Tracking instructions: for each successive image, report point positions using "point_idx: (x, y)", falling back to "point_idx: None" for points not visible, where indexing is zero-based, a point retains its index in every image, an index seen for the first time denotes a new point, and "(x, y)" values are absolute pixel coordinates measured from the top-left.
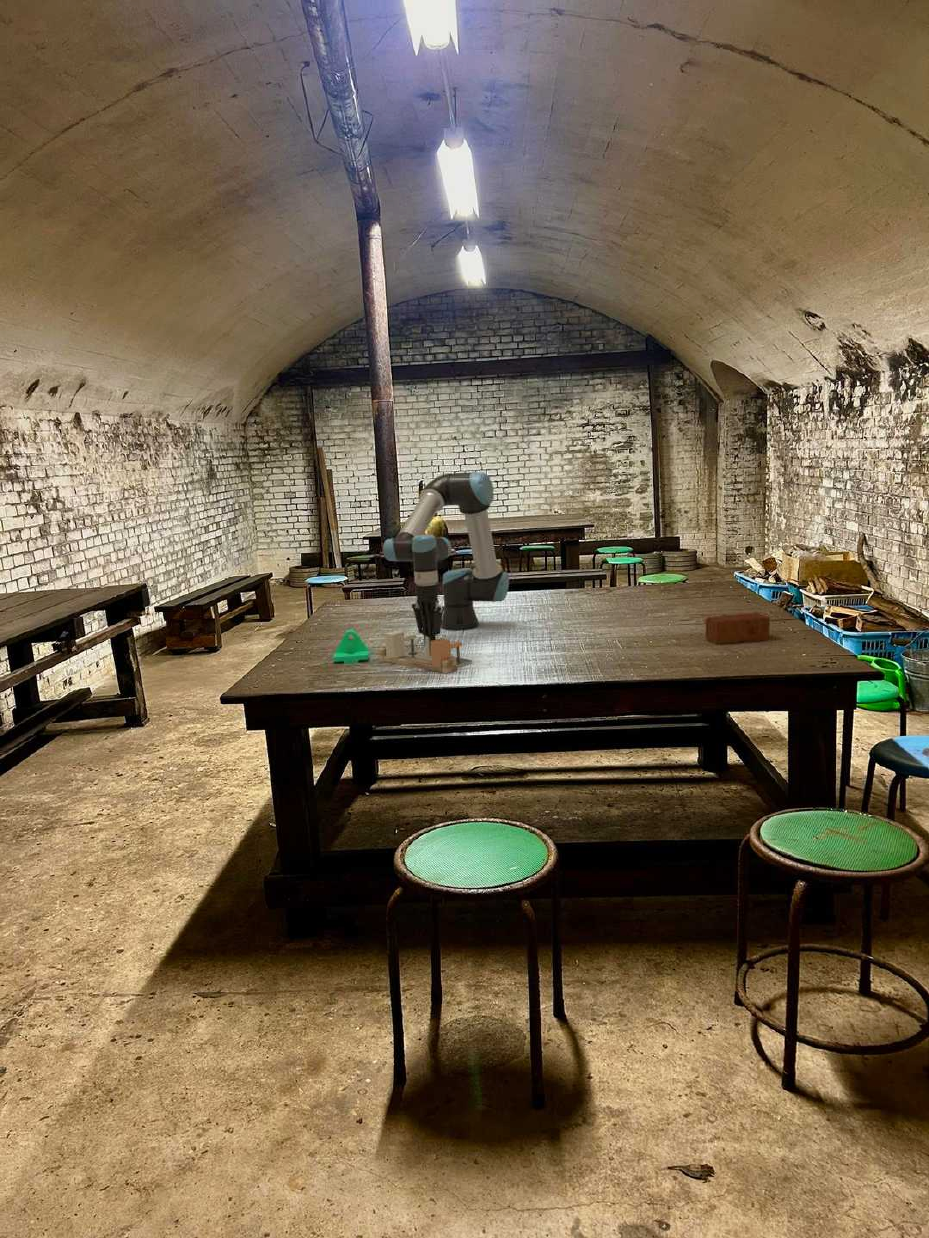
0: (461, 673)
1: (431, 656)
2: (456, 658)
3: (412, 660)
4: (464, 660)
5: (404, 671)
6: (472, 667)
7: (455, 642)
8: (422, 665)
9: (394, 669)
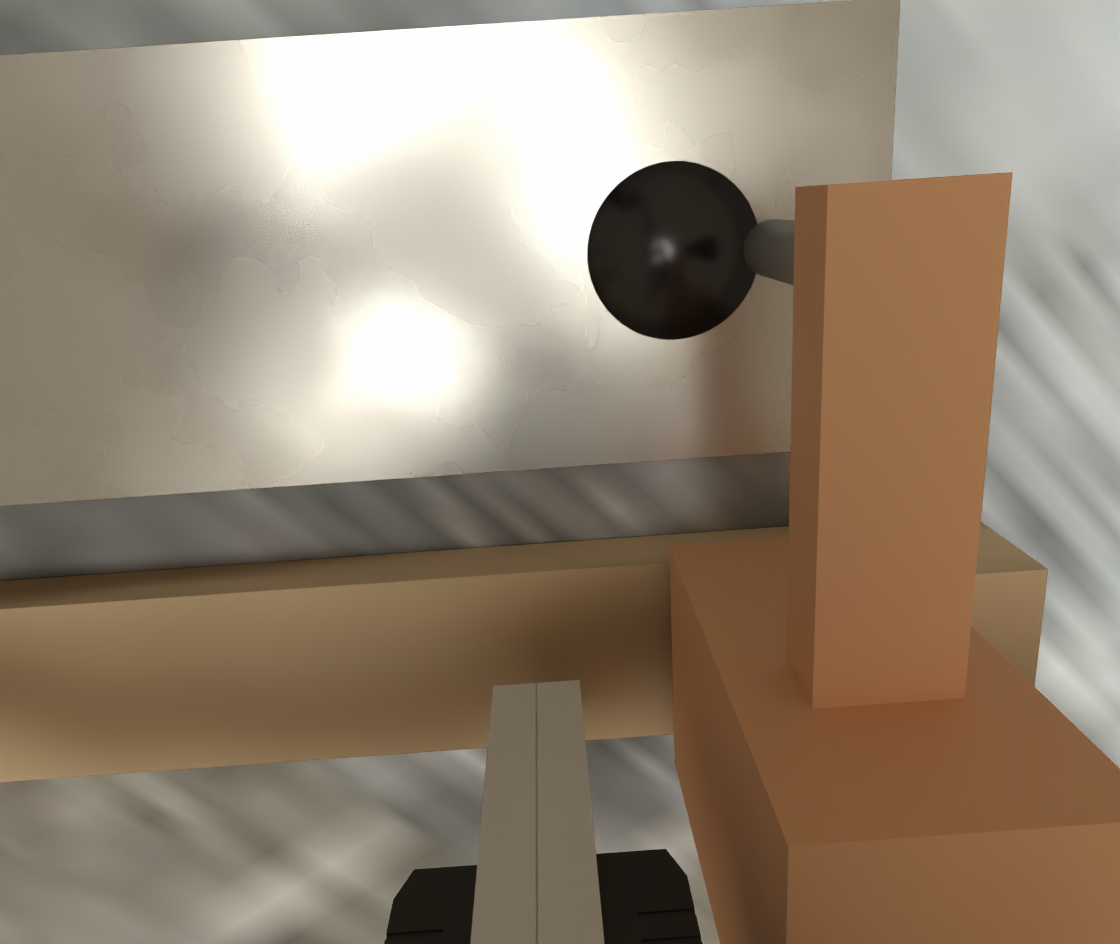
0: (1090, 553)
1: (706, 875)
2: (556, 91)
3: (121, 698)
4: (789, 108)
5: (351, 904)
6: (1051, 223)
7: (857, 310)
8: (444, 739)
9: (165, 920)
